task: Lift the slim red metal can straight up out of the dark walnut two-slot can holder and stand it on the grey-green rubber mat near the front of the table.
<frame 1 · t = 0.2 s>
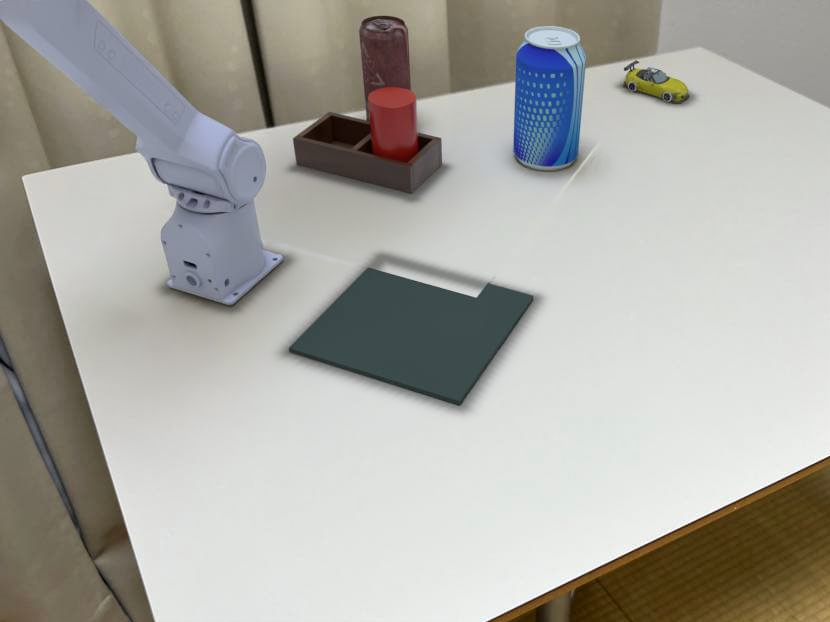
can: (396, 170, 111), point 1 cm above the table, touching holder
holder: (370, 168, 112), on the table
toy car: (655, 92, 134), on the table
mat: (416, 324, 89), on the table
can 2: (391, 129, 120), on the table
beer can: (545, 162, 116), on the table
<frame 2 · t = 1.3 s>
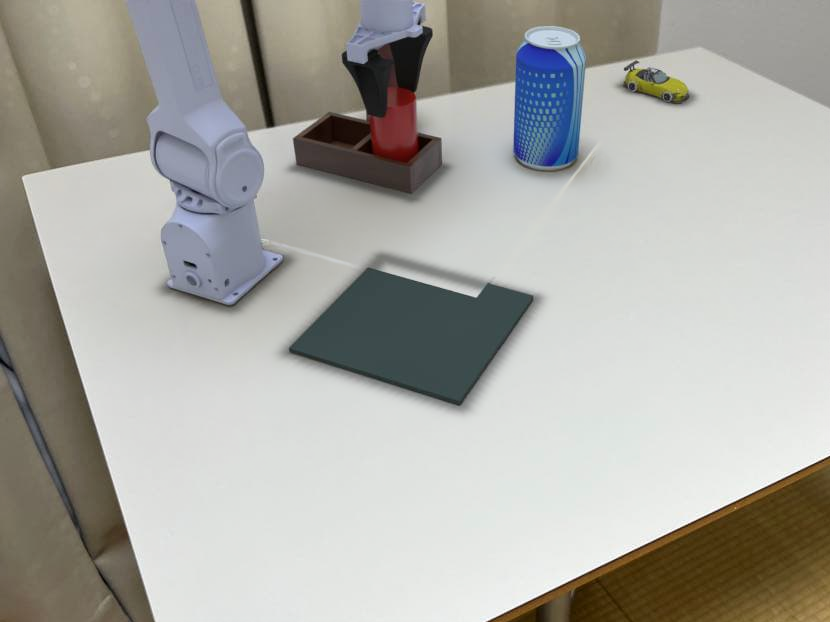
hand: (392, 102, 105), 9 cm above the table, tool pointing down, fingers open, 7 cm apart
nothing on the table moved.
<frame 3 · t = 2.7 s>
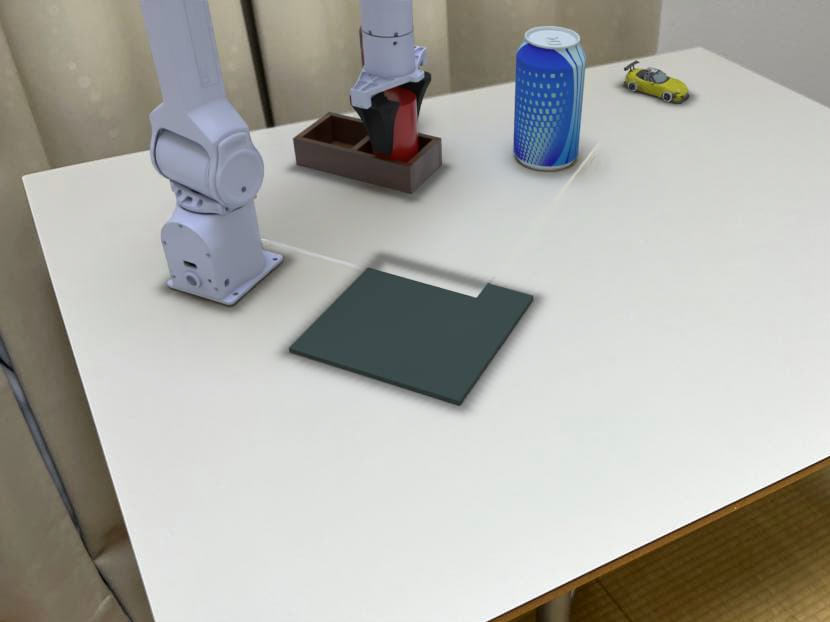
hand: (394, 142, 108), 4 cm above the table, tool pointing down, fingers closed on can, 5 cm apart
can: (396, 170, 111), point 1 cm above the table, touching gripper, holder
everything else where it was.
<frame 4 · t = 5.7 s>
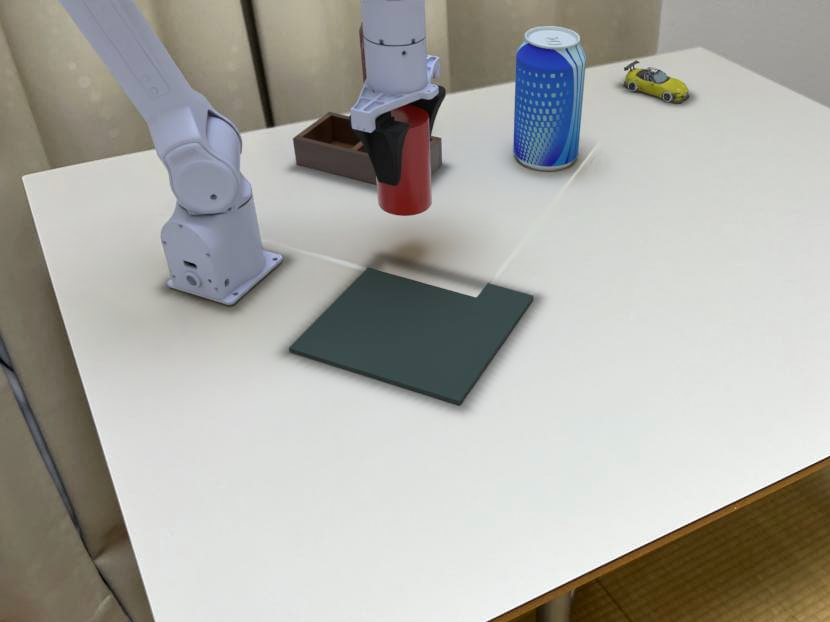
hand: (402, 169, 91), 10 cm above the table, tool pointing down, fingers closed on can, 5 cm apart
can: (405, 202, 94), point 7 cm above the table, touching gripper
everything else where it was.
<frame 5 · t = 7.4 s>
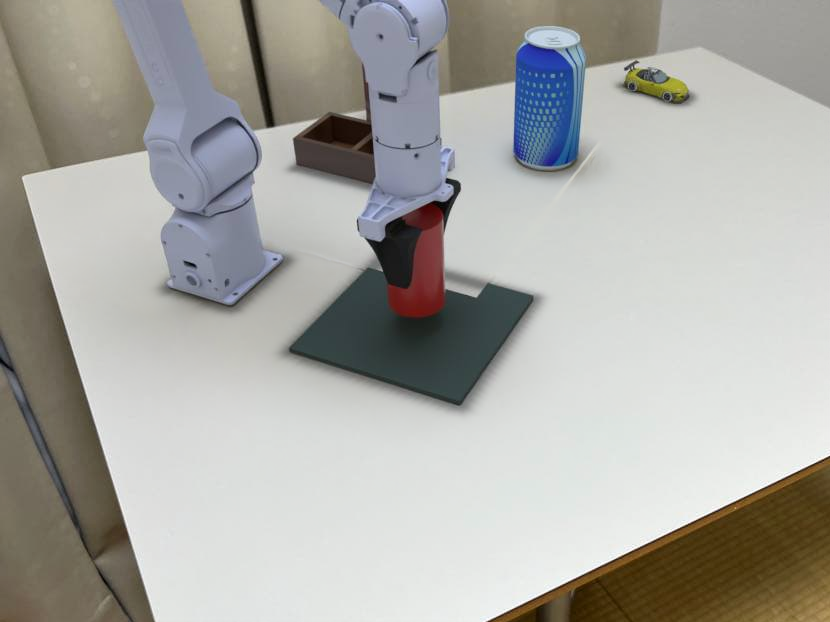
hand: (414, 268, 85), 7 cm above the table, tool pointing down, fingers closed on can, 5 cm apart
can: (416, 300, 87), point 3 cm above the table, touching gripper
everything else where it was.
when the fingers open (4 cm above the table, at t = 8.7 s): can stays where it is, resting on mat.
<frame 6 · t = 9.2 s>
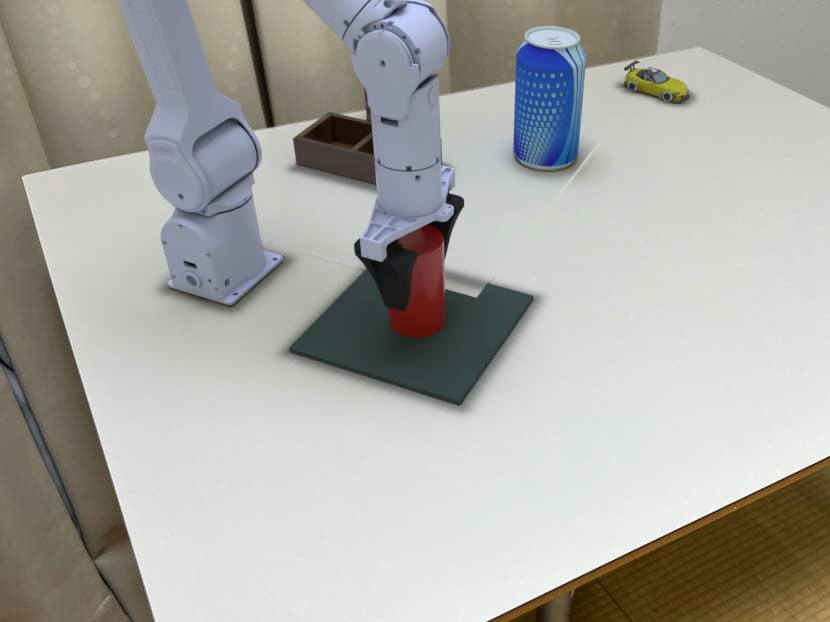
hand: (414, 285, 86), 5 cm above the table, tool pointing down, fingers open, 7 cm apart
can: (417, 320, 89), resting on mat
everything else where it was.
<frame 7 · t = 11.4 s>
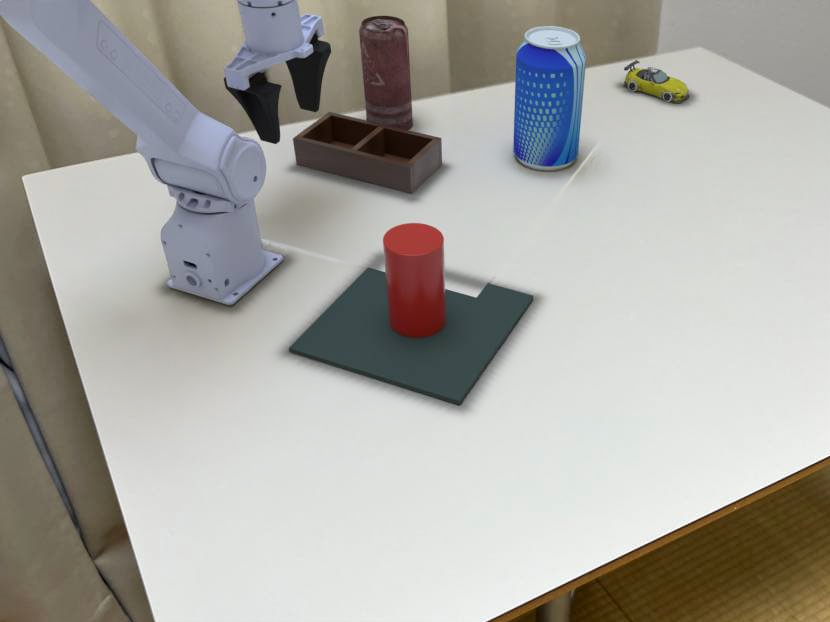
hand: (290, 124, 97), 10 cm above the table, tool pointing down, fingers open, 7 cm apart
nothing on the table moved.
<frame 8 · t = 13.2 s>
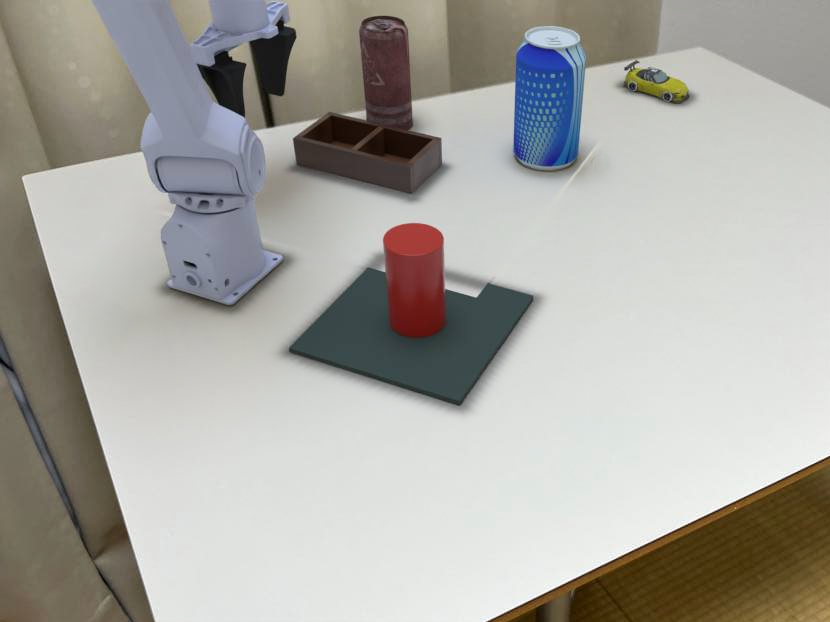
hand: (255, 106, 100), 10 cm above the table, tool pointing down, fingers open, 7 cm apart
nothing on the table moved.
at the end: can inside the target area on the mat (0.1 cm from its centre), point 0.5 cm above the mat's base; can tilted 0°; can touching mat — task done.
